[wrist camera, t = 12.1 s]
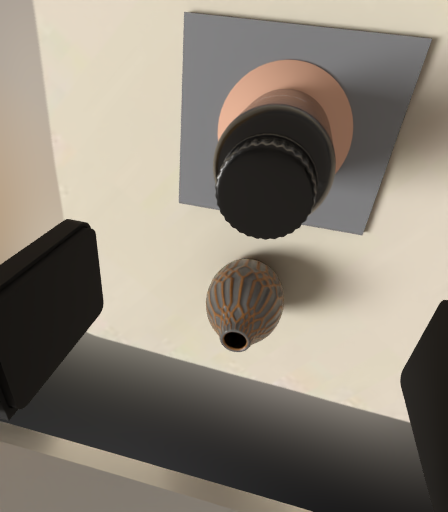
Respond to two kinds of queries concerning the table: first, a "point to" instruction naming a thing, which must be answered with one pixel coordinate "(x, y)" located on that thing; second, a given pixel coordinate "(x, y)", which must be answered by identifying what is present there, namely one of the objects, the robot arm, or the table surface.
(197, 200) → the mat
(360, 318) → the table surface
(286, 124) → the supplement bottle
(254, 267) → the vase
